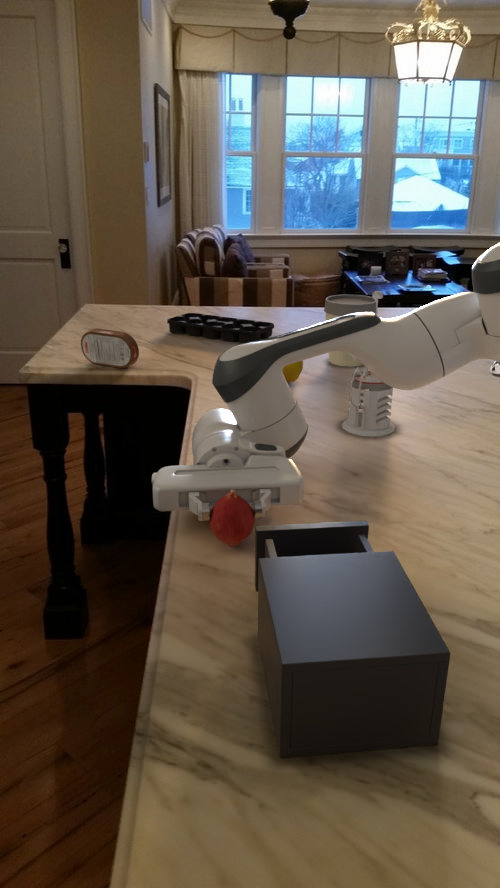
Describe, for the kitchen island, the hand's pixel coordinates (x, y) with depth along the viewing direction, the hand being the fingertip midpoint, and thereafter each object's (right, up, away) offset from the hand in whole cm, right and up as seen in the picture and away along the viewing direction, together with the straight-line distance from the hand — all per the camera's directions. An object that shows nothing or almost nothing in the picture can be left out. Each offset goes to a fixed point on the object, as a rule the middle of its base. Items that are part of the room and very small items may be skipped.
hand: (232, 514), depth 88 cm
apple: (+11, +22, +67) cm, 71 cm away
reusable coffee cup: (+26, +29, +82) cm, 91 cm away
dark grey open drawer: (+10, -10, -13) cm, 19 cm away
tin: (-31, +27, +79) cm, 89 cm away
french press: (+24, +12, +41) cm, 49 cm away
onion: (0, -4, +3) cm, 5 cm away
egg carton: (-6, +39, +107) cm, 114 cm away
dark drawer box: (+11, -14, -21) cm, 28 cm away
